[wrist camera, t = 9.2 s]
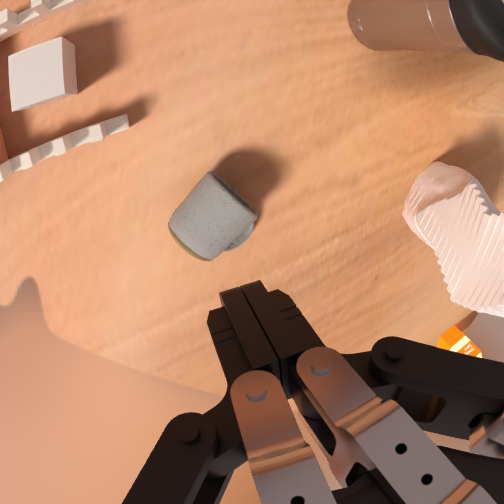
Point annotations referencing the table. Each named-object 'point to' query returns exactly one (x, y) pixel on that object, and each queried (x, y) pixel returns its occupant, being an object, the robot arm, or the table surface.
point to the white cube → (42, 74)
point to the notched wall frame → (9, 23)
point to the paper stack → (460, 234)
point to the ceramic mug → (212, 219)
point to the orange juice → (458, 343)
